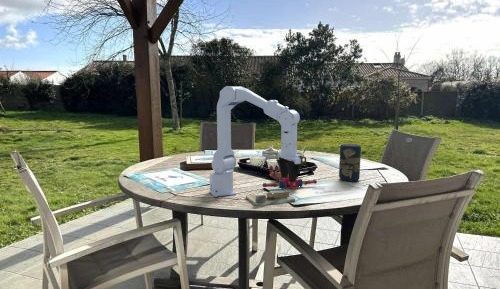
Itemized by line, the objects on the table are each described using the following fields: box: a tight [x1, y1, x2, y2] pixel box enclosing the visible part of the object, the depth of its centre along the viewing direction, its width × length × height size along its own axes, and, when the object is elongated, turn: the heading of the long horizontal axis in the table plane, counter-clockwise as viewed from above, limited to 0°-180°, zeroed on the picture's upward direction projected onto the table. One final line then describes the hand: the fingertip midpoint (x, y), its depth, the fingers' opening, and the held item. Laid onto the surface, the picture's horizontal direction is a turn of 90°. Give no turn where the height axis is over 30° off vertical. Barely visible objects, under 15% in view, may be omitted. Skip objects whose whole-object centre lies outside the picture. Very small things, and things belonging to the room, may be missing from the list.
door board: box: [245, 192, 296, 207], centre depth 141 cm, size 16×11×4 cm
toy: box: [262, 164, 318, 190], centre depth 166 cm, size 25×6×30 cm
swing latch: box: [266, 190, 290, 199], centre depth 139 cm, size 9×3×2 cm, turn 111°
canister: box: [338, 142, 362, 182], centre depth 171 cm, size 10×10×18 cm
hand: (288, 179), depth 134 cm, fingers open, 6 cm apart
